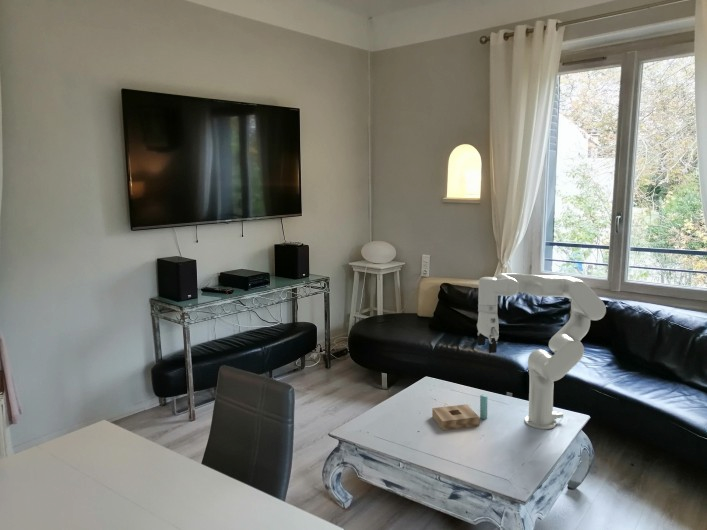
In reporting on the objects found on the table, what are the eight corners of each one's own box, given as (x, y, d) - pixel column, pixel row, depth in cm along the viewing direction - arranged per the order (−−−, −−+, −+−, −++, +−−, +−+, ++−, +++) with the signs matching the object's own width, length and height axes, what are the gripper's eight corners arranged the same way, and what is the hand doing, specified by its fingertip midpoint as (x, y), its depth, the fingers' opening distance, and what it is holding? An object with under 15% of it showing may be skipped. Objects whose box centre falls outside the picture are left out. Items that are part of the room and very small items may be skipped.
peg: (485, 415, 235) (485, 394, 233) (488, 418, 232) (488, 397, 231) (478, 416, 235) (479, 395, 233) (481, 419, 232) (482, 397, 230)
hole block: (466, 412, 239) (466, 404, 238) (479, 425, 226) (479, 416, 225) (432, 416, 236) (432, 408, 235) (442, 430, 223) (442, 421, 222)
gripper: (506, 312, 208) (505, 354, 211) (486, 302, 225) (485, 341, 228) (489, 313, 207) (488, 356, 210) (469, 303, 224) (469, 343, 226)
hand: (486, 348), depth 219 cm, fingers open, 9 cm apart
